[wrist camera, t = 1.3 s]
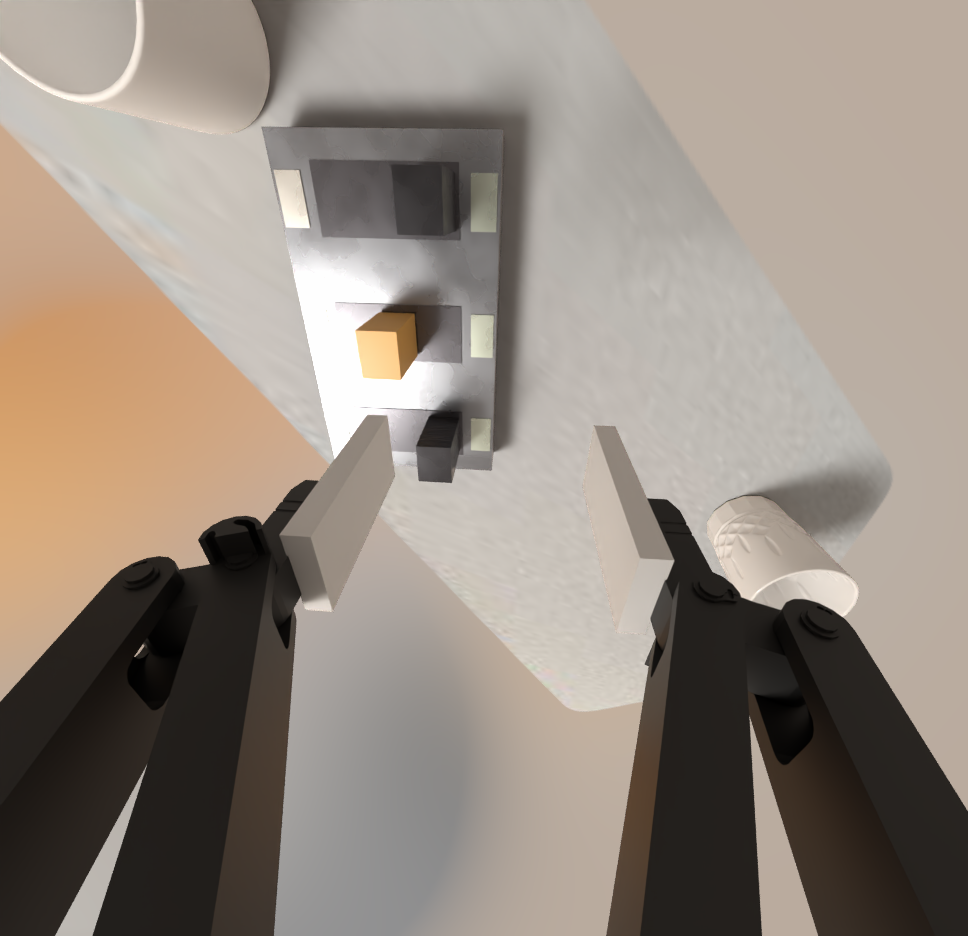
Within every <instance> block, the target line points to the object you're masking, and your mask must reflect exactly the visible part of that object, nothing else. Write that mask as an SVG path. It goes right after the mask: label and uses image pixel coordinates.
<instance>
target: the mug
mask: <svg viewBox="0 0 968 936" xmlns="http://www.w3.org/2000/svg"><path fill="white" fill-rule="evenodd" d="M0 58H1V59H2V60H3V61H4V62H6V63H7V64H8V65H9V66H10V67H11V68H13V69H14V70H15V71H16V72H17V73H19V74H20V75H22V76H23V77H24V78H26V79H27V80H28V81H30V82H31V83H33V84H35V85H36V86H38V87H40V88H41V89H43V90H45V91H47V92H49V93H51V94H53V95H55V96H58V97H60V98H64V99H67V100H70V101H74V102H78V103H82V104H86V105H90V106H95V107H99V108H103V109H107V110H111V111H116V112H120V113H124V114H128V115H132V116H136V117H141V118H145V119H149V120H153V121H157V122H162V123H166V124H170V125H174V126H178V127H183V128H187V129H191V130H195V131H199V132H204V133H211V134H231V133H235V132H238V131H241V130H243V129H245V128H246V127H248V126H249V125H250V124H251V123H252V122H253V121H254V120H255V119H256V118H257V116H258V115H259V113H260V112H261V110H262V108H263V106H264V103H265V100H266V97H267V94H268V88H269V81H270V61H269V53H268V47H267V42H266V37H265V34H264V30H263V27H262V24H261V21H260V18H259V16H258V13H257V11H256V9H255V7H254V5H253V3H252V1H251V0H0Z"/></svg>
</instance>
